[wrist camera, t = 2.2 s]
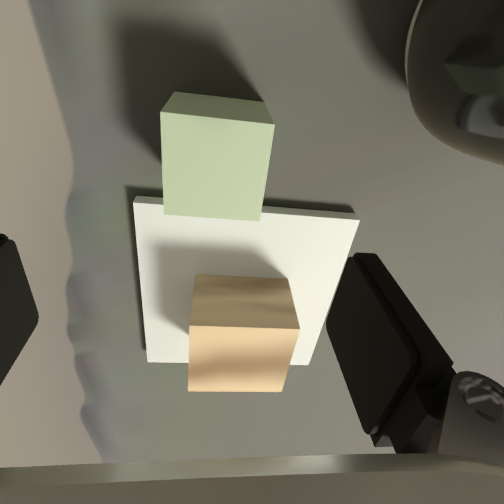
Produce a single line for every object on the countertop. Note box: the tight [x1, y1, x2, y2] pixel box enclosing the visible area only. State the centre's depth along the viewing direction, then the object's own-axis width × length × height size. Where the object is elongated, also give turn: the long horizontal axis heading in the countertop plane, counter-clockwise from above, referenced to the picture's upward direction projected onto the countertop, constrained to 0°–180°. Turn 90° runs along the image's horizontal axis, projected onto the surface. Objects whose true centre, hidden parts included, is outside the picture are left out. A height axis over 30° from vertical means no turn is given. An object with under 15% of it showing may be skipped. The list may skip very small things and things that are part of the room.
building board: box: [133, 196, 360, 365], centre depth 26 cm, size 16×15×1 cm
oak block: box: [188, 274, 300, 392], centre depth 25 cm, size 7×7×5 cm
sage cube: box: [160, 91, 275, 221], centre depth 18 cm, size 5×5×5 cm
